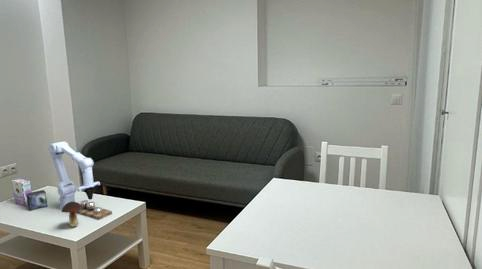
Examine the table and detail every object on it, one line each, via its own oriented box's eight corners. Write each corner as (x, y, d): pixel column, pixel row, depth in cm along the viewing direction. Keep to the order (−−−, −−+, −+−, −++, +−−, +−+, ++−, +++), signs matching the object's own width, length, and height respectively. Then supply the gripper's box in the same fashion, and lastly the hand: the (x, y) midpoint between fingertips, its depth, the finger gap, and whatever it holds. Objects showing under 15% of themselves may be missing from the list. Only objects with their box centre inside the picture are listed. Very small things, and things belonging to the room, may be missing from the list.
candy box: (34, 203, 241) (30, 180, 238) (25, 206, 236) (21, 183, 233) (23, 200, 248) (20, 177, 245) (14, 203, 243) (11, 180, 240)
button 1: (79, 208, 223) (79, 201, 222) (86, 205, 227) (85, 199, 226) (84, 209, 221) (83, 203, 220) (90, 207, 225) (89, 200, 224)
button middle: (86, 210, 220) (85, 203, 219) (92, 207, 223) (91, 201, 223) (90, 211, 217) (89, 204, 217) (96, 208, 221) (96, 202, 220)
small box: (29, 211, 227) (27, 195, 226) (27, 208, 232) (25, 193, 230) (47, 206, 234) (45, 191, 232) (45, 204, 239) (43, 189, 237)
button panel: (72, 212, 223) (71, 209, 223) (86, 206, 232) (85, 203, 231) (98, 219, 210) (98, 216, 210) (112, 214, 218) (111, 210, 218)
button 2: (93, 215, 217) (92, 209, 216) (99, 213, 220) (98, 206, 220) (97, 216, 215) (97, 210, 214) (103, 214, 218) (103, 207, 217)
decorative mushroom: (59, 229, 199) (56, 204, 196) (75, 221, 209) (72, 197, 206) (73, 232, 195) (70, 206, 192) (89, 224, 204) (86, 199, 202)
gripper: (81, 182, 209) (83, 203, 211) (102, 175, 221) (104, 196, 223) (74, 180, 212) (76, 202, 215) (95, 174, 224) (97, 194, 227)
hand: (90, 199), depth 219 cm, fingers closed
